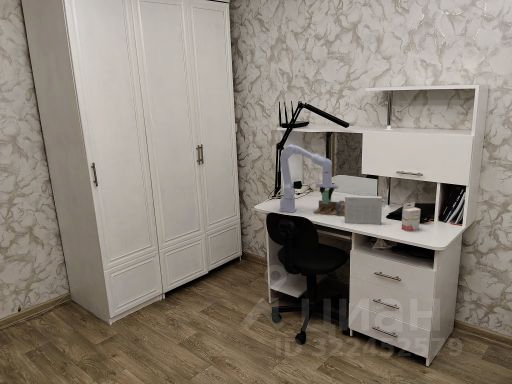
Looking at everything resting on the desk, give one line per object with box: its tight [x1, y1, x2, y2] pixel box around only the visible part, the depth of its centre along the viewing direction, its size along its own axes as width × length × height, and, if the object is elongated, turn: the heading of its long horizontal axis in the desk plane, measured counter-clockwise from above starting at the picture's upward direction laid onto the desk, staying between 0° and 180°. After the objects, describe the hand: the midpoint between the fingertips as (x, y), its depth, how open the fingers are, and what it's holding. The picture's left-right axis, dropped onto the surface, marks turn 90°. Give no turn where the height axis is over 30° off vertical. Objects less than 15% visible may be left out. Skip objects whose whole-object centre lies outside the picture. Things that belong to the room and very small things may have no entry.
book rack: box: [313, 199, 345, 217], centre depth 259 cm, size 20×11×8 cm, turn 64°
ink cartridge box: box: [401, 201, 421, 232], centre depth 222 cm, size 9×5×15 cm, turn 112°
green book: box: [321, 189, 332, 204], centre depth 259 cm, size 4×9×7 cm, turn 154°
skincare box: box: [344, 195, 383, 225], centre depth 237 cm, size 21×6×16 cm, turn 74°
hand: (326, 198), depth 259 cm, fingers closed on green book, 3 cm apart
